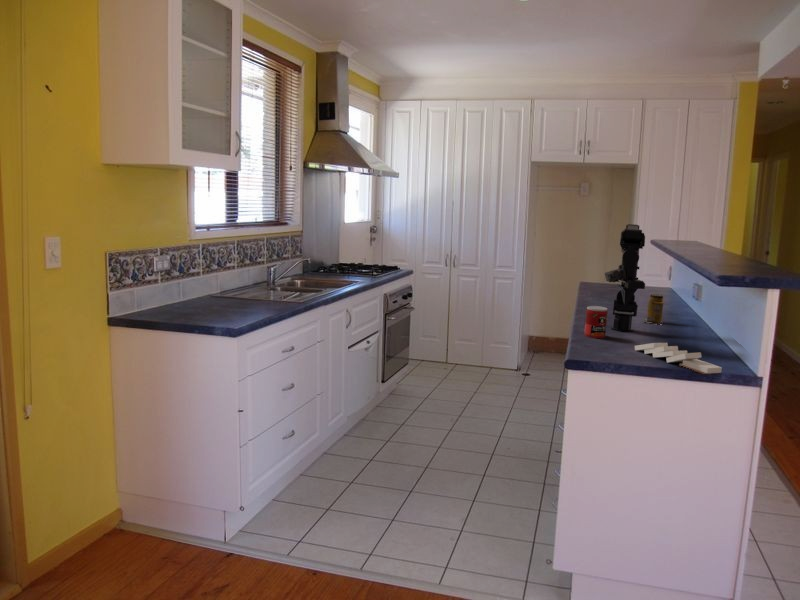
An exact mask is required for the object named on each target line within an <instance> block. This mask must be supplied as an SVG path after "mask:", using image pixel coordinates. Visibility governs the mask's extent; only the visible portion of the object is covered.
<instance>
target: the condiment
mask: <svg viewBox="0 0 800 600" xmlns="http://www.w3.org/2000/svg"><path fill="white" fill-rule="evenodd" d="M647 304H648V305H647V310H646V311H647V312H646V313H647V314H646V320H647V322H652V323H661V322H662V319H663V318H662V317H663V308H664V296H663V295H661V294H650V295H649V300H648V301H647ZM662 325H663V323H662V324H660V325H659V326H662Z"/></svg>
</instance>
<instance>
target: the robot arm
mask: <svg viewBox="0 0 800 600" xmlns="http://www.w3.org/2000/svg"><path fill="white" fill-rule="evenodd" d="M619 241H620V242H619V246H620V248H621V250H620V251H621V253H622V256H621V264H619V265H618V268H617V269H612V270H609V271H606V272H604V276H605V280H606V282H608V283H616V282H617V283H618V284H616V286H617V287H618V288H619V289H620V290H619V291H618V292H617V293H616V299H614V300H613V310H612V311H613V312H612V315H613V316H614V318H613V326H612V327H611V326H610V329H611V330H613V331H618V332H634V331H635V330H634V329H632V322H633V317H635V318H636V317H637V314H638V307H639V305H638V304H637V301H635V300H636V296H635V293H636V292H637V290H645V289H646V283H645V281H643V280H640V279H639V277H637V275H638V270H640V266H638V265H639V261H640V250H641V249H644V248H643V247H646V246H645V244H646V235H645V233H644V232H643V229H640V225H639V224H632V223H631V224H629V223H628V224H626V225H625V228H624V229H623V230H622V231H621V232H620V240H619Z"/></svg>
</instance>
